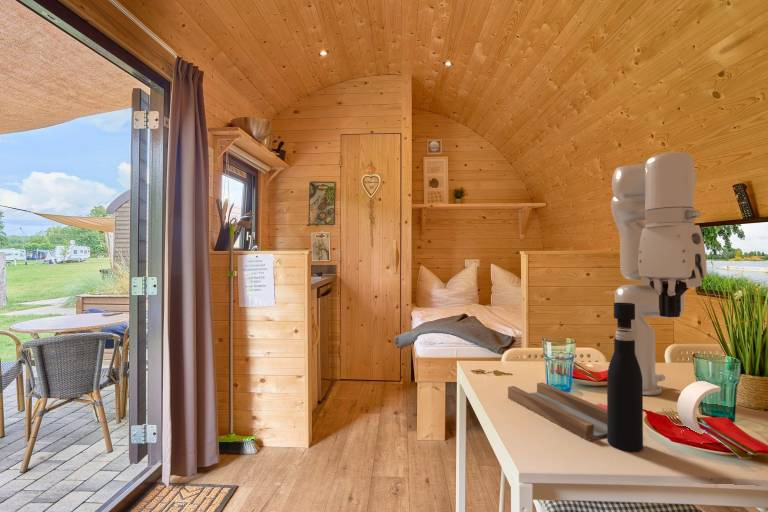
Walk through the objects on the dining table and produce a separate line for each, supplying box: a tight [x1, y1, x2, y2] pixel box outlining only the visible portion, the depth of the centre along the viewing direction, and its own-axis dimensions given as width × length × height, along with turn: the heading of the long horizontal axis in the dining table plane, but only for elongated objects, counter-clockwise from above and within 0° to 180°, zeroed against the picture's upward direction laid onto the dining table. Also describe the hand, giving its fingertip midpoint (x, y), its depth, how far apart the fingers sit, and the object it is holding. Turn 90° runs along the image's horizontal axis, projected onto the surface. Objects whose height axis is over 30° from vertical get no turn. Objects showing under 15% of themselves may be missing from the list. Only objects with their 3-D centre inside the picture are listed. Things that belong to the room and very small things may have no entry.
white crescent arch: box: [676, 380, 722, 444], centre depth 86 cm, size 5×6×12 cm
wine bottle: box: [606, 302, 644, 453], centre depth 84 cm, size 6×6×30 cm
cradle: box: [507, 382, 608, 441], centre depth 101 cm, size 12×28×3 cm, turn 19°
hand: (669, 316), depth 74 cm, fingers closed
